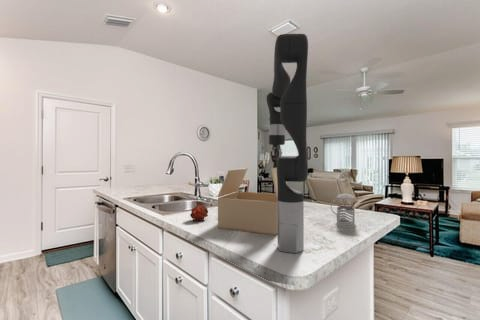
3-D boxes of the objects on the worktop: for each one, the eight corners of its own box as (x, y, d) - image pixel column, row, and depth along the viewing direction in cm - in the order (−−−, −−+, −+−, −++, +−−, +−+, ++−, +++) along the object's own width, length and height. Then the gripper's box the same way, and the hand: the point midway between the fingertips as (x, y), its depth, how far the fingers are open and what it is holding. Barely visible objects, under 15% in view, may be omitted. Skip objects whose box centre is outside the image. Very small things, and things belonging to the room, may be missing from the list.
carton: (276, 235, 101) (276, 202, 101) (217, 228, 112) (217, 198, 112) (288, 221, 123) (288, 194, 123) (238, 216, 134) (238, 191, 134)
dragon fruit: (208, 220, 132) (193, 229, 122) (198, 210, 135) (182, 218, 125) (214, 209, 128) (199, 217, 118) (203, 199, 131) (188, 206, 121)
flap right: (277, 201, 101) (278, 201, 101) (270, 168, 102) (271, 168, 102) (288, 193, 123) (289, 193, 122) (283, 166, 124) (283, 166, 123)
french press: (358, 228, 110) (358, 174, 110) (331, 226, 114) (331, 174, 114) (355, 223, 119) (355, 173, 119) (330, 221, 123) (330, 172, 123)
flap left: (229, 170, 110) (228, 169, 110) (218, 197, 112) (217, 196, 112) (247, 168, 131) (247, 167, 131) (237, 190, 133) (237, 190, 134)
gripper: (281, 133, 106) (280, 172, 107) (287, 135, 118) (286, 170, 119) (265, 133, 109) (264, 171, 110) (272, 135, 121) (271, 170, 122)
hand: (276, 171), depth 114 cm, fingers closed
